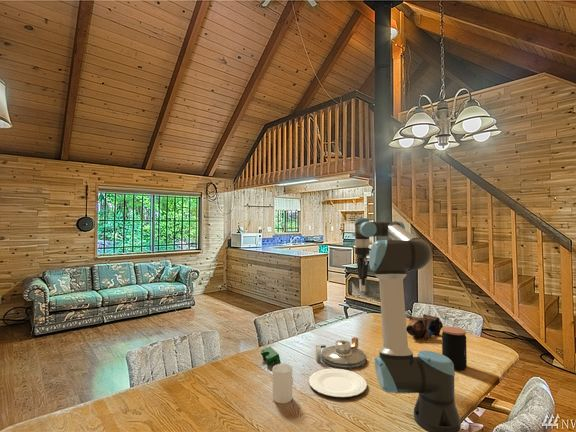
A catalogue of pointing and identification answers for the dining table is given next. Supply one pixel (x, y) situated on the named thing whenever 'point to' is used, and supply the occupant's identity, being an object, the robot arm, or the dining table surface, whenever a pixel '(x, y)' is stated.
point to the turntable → (355, 358)
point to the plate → (337, 383)
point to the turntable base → (319, 358)
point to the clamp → (270, 356)
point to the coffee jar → (455, 346)
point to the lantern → (424, 326)
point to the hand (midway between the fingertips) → (362, 291)
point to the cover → (342, 348)
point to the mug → (282, 383)
